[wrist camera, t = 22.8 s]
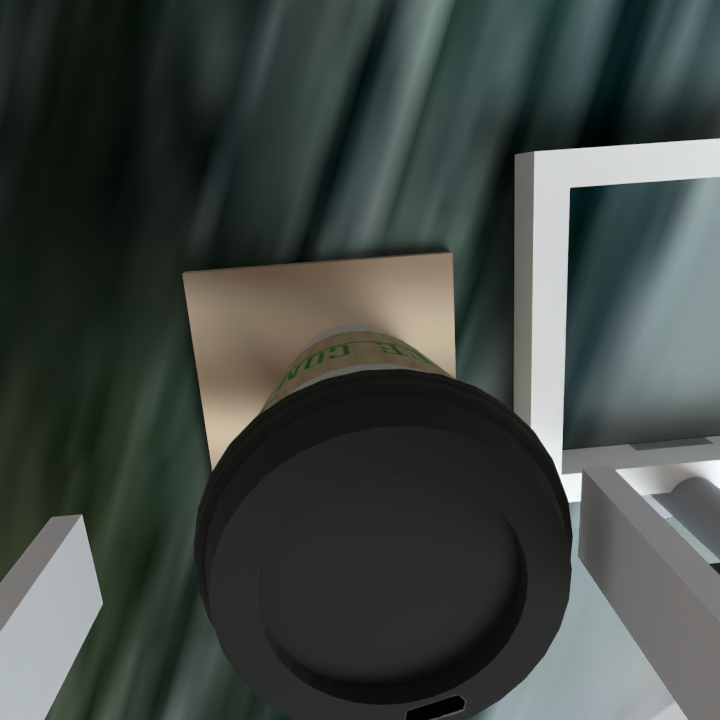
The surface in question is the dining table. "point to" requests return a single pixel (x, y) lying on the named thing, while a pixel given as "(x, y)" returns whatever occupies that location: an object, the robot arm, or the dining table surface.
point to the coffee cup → (382, 539)
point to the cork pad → (305, 323)
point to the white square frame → (548, 326)
